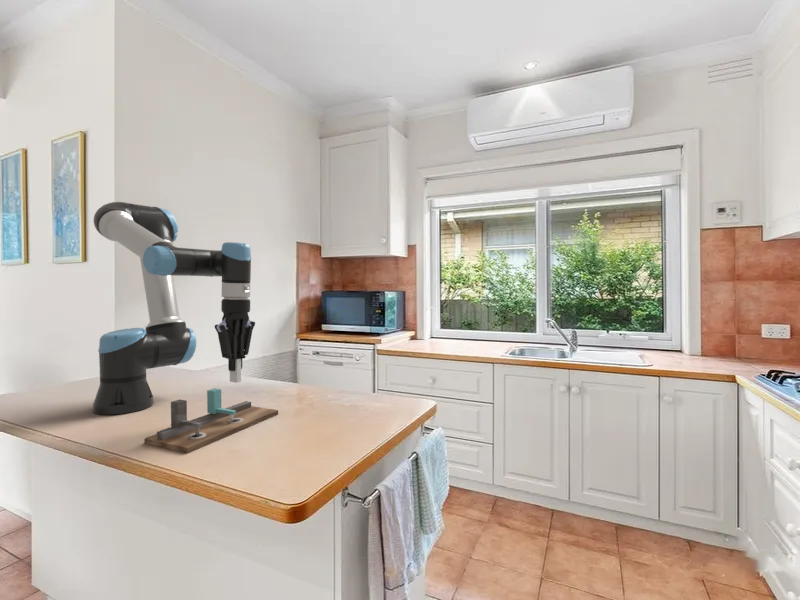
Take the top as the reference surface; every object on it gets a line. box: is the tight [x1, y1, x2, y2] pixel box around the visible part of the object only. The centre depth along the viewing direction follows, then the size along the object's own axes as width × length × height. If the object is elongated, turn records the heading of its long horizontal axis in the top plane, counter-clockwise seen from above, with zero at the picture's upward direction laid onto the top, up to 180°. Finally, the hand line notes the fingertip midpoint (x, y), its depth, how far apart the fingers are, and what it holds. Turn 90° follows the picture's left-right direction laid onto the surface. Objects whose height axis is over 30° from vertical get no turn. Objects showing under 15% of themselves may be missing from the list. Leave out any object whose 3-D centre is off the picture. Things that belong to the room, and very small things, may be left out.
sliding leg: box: [206, 387, 236, 421], centre depth 109 cm, size 8×2×7 cm, turn 67°
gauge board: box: [143, 399, 279, 454], centre depth 107 cm, size 14×30×9 cm, turn 157°
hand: (235, 381), depth 118 cm, fingers closed
